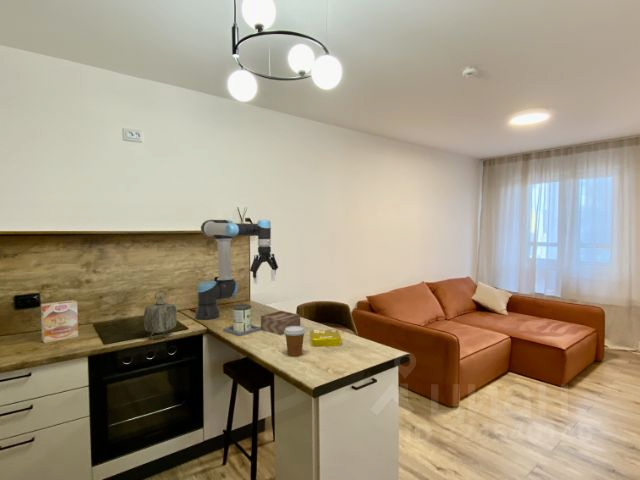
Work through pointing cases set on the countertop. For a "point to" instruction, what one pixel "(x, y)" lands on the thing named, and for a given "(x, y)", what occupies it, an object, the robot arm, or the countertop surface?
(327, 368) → the countertop surface
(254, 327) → the gray square frame
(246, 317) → the coffee can
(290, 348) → the disposable coffee cup
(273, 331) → the block
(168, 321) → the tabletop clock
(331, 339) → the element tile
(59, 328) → the coffeecake box
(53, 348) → the countertop surface
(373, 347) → the countertop surface
